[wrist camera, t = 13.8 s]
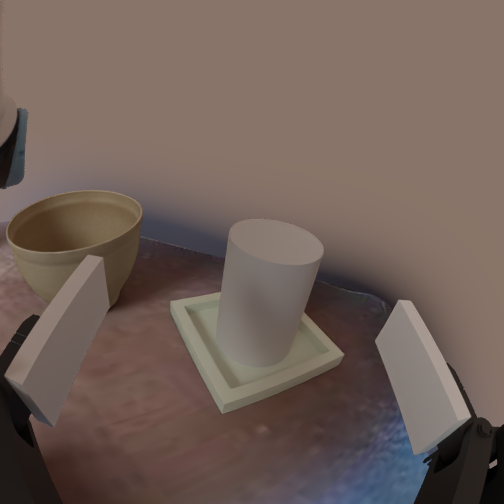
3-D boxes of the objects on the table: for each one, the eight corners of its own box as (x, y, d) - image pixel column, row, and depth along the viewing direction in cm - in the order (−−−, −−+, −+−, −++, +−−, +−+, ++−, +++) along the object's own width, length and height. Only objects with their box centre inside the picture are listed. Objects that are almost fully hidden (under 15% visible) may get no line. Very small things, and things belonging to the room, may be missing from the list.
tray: (170, 313, 32) (170, 301, 32) (271, 292, 39) (274, 281, 39) (222, 414, 22) (224, 404, 22) (338, 365, 29) (344, 354, 28)
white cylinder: (270, 308, 35) (293, 218, 30) (303, 356, 29) (342, 260, 23) (206, 318, 32) (216, 219, 26) (231, 375, 26) (252, 269, 20)
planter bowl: (116, 249, 42) (113, 182, 36) (169, 311, 33) (170, 226, 27) (21, 278, 31) (5, 205, 26) (42, 360, 22) (7, 270, 17)
